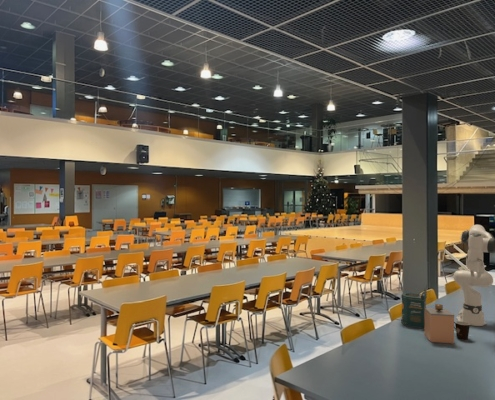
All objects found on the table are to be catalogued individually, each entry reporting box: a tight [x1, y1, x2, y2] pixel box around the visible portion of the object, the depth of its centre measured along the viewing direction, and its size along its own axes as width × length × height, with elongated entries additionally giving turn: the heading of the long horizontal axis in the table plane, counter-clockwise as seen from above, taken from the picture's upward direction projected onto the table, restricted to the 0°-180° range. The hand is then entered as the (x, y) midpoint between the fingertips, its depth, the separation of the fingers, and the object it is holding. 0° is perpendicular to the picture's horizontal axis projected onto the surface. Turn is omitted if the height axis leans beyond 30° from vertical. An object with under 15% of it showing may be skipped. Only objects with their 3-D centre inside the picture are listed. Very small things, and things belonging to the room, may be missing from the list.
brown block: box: [423, 307, 455, 344], centre depth 251 cm, size 14×14×18 cm
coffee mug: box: [454, 320, 471, 341], centre depth 254 cm, size 12×9×10 cm
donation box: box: [400, 284, 428, 329], centre depth 284 cm, size 16×16×28 cm
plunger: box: [434, 303, 444, 312], centre depth 251 cm, size 10×10×17 cm
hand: (475, 278), depth 258 cm, fingers open, 8 cm apart
